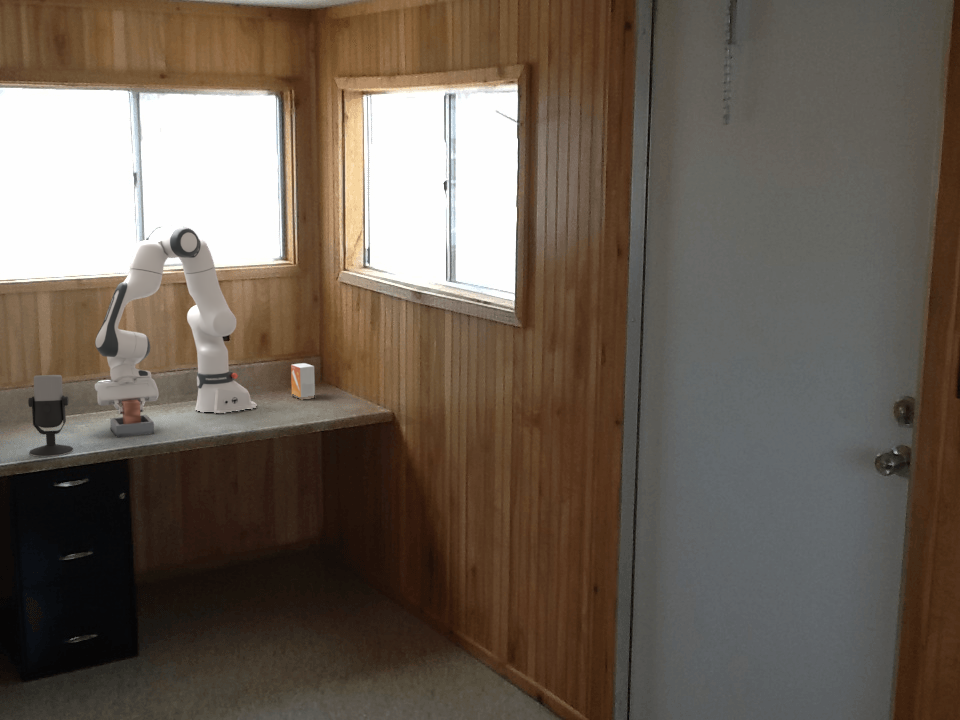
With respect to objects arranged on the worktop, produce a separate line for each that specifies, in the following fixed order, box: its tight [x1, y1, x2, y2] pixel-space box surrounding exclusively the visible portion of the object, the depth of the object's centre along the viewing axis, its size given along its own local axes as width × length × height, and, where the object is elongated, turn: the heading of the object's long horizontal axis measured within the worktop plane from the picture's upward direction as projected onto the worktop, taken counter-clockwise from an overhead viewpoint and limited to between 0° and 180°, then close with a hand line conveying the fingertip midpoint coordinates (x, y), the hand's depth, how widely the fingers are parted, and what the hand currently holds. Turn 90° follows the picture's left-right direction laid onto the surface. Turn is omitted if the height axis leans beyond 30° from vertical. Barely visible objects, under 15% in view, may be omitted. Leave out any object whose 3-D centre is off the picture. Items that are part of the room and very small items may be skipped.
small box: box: [290, 362, 316, 397], centre depth 443 cm, size 8×6×13 cm
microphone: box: [27, 374, 74, 457], centre depth 361 cm, size 13×13×25 cm
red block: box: [121, 400, 141, 424], centre depth 388 cm, size 5×5×8 cm
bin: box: [109, 414, 155, 438], centre depth 389 cm, size 12×12×4 cm
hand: (131, 412), depth 388 cm, fingers closed on red block, 5 cm apart
